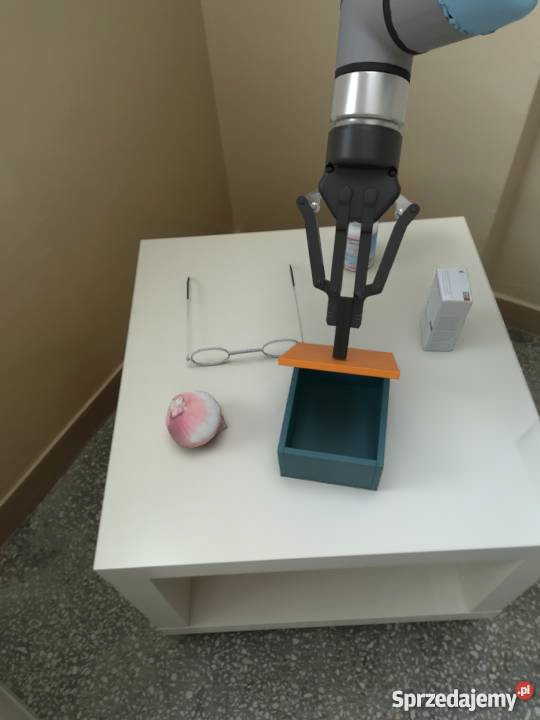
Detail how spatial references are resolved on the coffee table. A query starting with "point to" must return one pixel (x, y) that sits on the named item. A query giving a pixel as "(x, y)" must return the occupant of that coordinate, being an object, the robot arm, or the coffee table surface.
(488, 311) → the coffee table surface
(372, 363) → the lid
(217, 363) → the eyeglasses
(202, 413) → the onion
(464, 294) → the cosmetic box
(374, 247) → the pill bottle
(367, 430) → the box
